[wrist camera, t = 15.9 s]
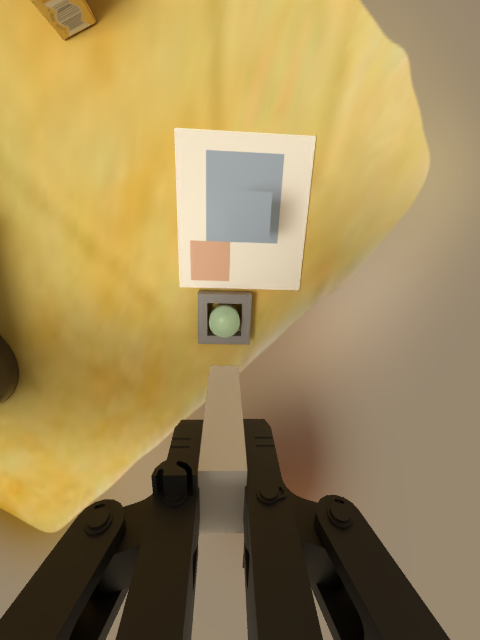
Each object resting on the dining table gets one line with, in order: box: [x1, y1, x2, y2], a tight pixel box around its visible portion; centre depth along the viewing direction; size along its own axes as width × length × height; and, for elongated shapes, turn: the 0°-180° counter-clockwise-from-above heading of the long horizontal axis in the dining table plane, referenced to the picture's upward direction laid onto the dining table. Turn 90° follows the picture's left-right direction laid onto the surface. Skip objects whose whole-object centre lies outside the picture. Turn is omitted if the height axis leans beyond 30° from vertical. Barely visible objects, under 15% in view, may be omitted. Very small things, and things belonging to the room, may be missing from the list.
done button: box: [209, 303, 240, 337], centre depth 37 cm, size 4×4×3 cm
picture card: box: [174, 128, 316, 290], centre depth 35 cm, size 16×18×1 cm
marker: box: [225, 190, 272, 240], centre depth 30 cm, size 4×4×10 cm
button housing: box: [198, 290, 252, 344], centre depth 38 cm, size 7×7×2 cm
